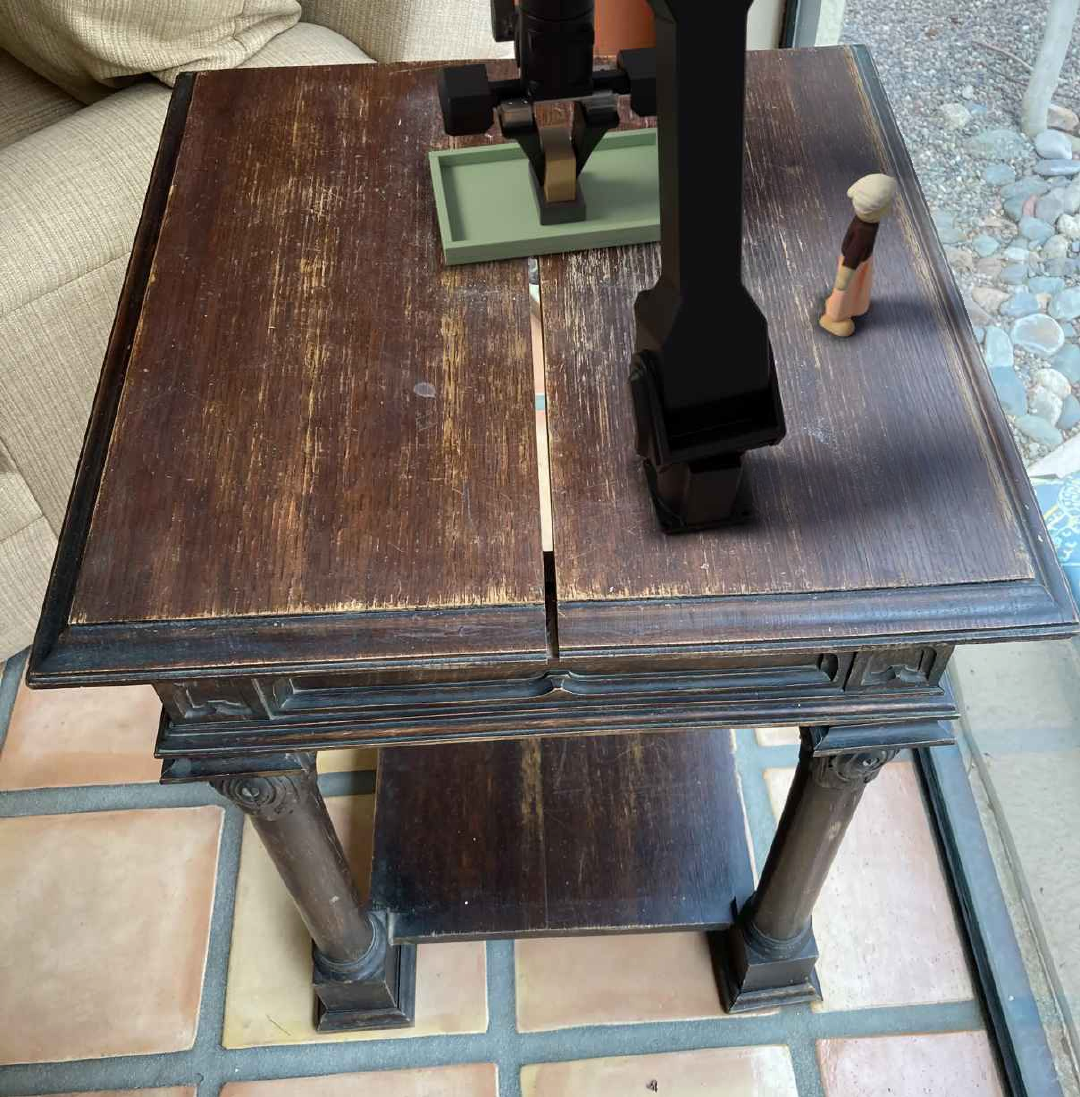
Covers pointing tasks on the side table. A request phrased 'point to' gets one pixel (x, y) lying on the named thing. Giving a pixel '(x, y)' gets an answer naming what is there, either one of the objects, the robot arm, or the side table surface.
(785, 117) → the side table surface
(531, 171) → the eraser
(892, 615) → the side table surface
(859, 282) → the grandmother figurine
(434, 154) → the tray
